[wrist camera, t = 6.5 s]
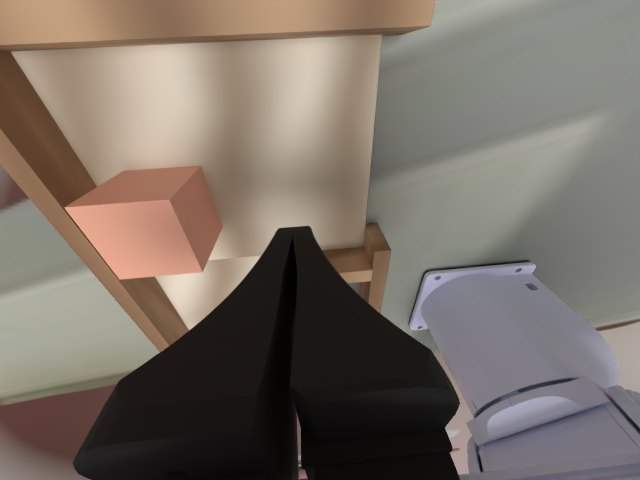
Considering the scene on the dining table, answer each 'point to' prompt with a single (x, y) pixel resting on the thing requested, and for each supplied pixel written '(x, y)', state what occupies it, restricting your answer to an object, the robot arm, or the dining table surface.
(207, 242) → the coral block
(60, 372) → the dining table surface
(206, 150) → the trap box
